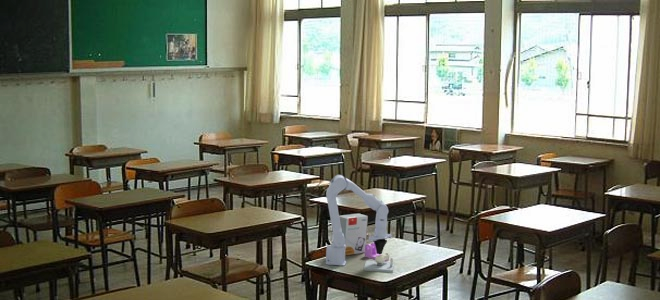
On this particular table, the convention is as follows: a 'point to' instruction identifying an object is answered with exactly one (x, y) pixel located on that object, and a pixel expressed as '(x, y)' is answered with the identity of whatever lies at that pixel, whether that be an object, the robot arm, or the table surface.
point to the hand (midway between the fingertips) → (379, 253)
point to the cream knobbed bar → (381, 258)
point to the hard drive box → (354, 232)
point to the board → (379, 266)
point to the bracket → (371, 251)
